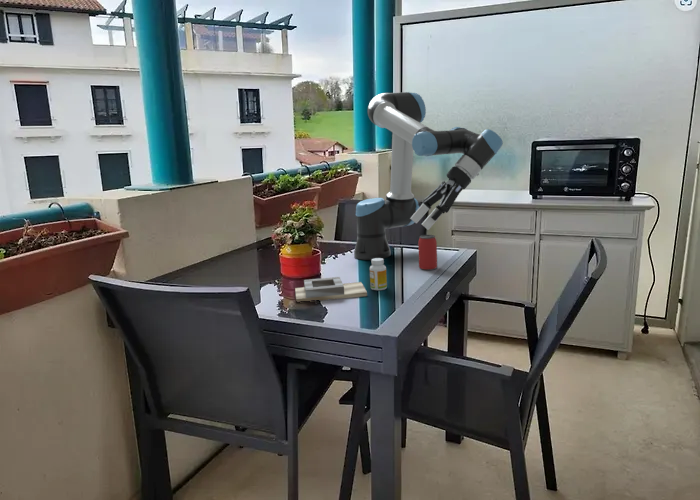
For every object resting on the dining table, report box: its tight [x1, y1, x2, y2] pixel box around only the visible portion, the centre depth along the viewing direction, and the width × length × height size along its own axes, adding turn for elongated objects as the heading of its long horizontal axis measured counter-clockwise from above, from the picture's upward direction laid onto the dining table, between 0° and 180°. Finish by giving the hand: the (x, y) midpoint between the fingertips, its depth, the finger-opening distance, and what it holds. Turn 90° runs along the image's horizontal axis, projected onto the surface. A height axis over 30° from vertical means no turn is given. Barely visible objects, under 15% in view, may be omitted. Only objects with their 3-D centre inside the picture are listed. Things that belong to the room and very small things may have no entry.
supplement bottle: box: [369, 258, 388, 291], centre depth 164 cm, size 5×5×10 cm
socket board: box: [294, 276, 368, 302], centre depth 162 cm, size 12×22×4 cm, turn 98°
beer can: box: [417, 234, 438, 271], centre depth 185 cm, size 7×7×12 cm
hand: (418, 224), depth 162 cm, fingers open, 13 cm apart
